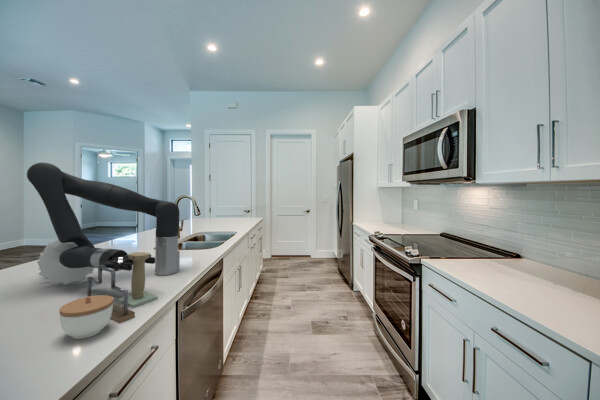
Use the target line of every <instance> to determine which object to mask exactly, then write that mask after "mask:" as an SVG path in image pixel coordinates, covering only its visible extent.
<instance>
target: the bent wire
mask: <svg viewBox="0 0 600 400" xmlns="http://www.w3.org/2000/svg"><path fill="white" fill-rule="evenodd" d="M104 270H105V271H104ZM103 271H104V272H109V273H110V289H111V290H114V291H116V292H119V293H121V294H123V297H124V304H122V305H123V306H121V305H118V304H116V303H113V312H112V316H111V318H110V320H112V321H114V322H117V323H118V324H121V323H123V322H126V321H128V320H129V321H130V320H131V319H133V318H135V315H136V314H135V313H136V312H135V311H133V310H131V309H128V308H129V306H128V296H129V291H128V289H124V288H122V287H118V286H117V285H116V271H115V269H111V268H108V267H105V266H101V265H100V266H98V268H97V279H96V278H94V277H91V276H88V277H87V279H86V281H87V285H86V286H87V288H86V289H87V290H86V291H87V293H86V297H88V296H92V283H95V284H97V285H102V283H103ZM93 296H96V295H93Z"/></svg>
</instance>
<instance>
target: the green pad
mask: <svg viewBox="0 0 600 400" xmlns="http://www.w3.org/2000/svg"><path fill="white" fill-rule="evenodd" d="M143 293H144V295H143V297H141V298H139V299H133V298H132V294H128V308H129V307H130V308H132V309H134V308H136V307H140V306H142V305H145V304H149V303H150V302H153V301H156V300H158V295H156V294H152V293H150V292H146V291H144V292H143ZM117 303H119V304H122V305H124V296H122V297H119V298H117Z"/></svg>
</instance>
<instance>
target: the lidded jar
mask: <svg viewBox="0 0 600 400" xmlns="http://www.w3.org/2000/svg"><path fill="white" fill-rule="evenodd" d="M114 302H115V298H114V297H113V296H112V295H103V294H102V295H101V294H99V295H95V296H94V295H91V296H88V297H87V296H85V297H81V298H78V299H75V300H72V301H69V302H68V303H65V304H63V305H62V306H61V307H60V308H59V318H60V319H59V320H60V326H61V330H62V331H63V332H64V333H65V334H66V335H67V336H69V337H72V339H75V340H82V339H88V338H90V337H93V336H96V335H98V334H99V333H101V332H102V331H103V330H104V328H106V326H107V325H108V323H109V322H110V320H111V319H110V318H111V316H112V312H113V303H114ZM114 304H115V303H114Z"/></svg>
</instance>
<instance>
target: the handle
mask: <svg viewBox="0 0 600 400" xmlns="http://www.w3.org/2000/svg"><path fill="white" fill-rule="evenodd" d="M127 254H128V258H129V259H131V260H133V265H132V270H131V271H132V273H131V282H130V283H131V284H130V285H131V286H130V289H131V295H132V298H133V299H139V298H141V297H143V295H144V293H143V292H145V287H146V286H145V285H146V269H145V268H146V267H145V265H146V263H145V260H146V259H148V258H149V257H150V254H151V253H150V252H143V251H142V252H141V251H140V252H138V251H137V252H130V253H127Z"/></svg>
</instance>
